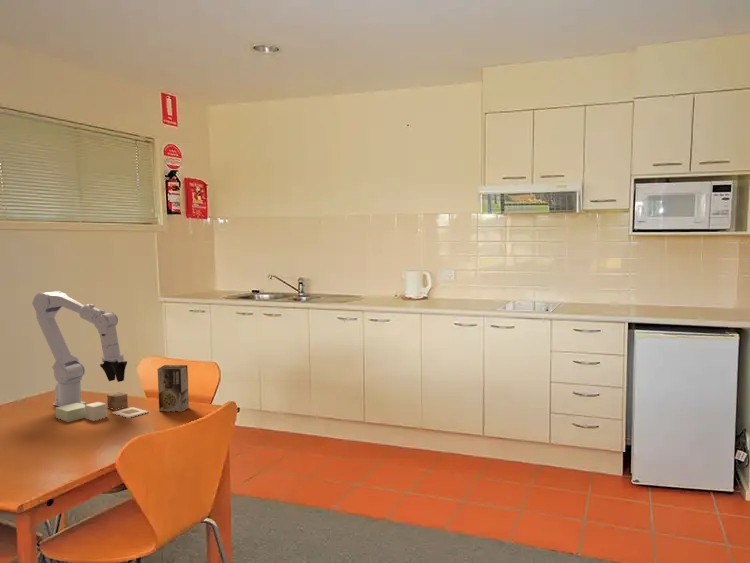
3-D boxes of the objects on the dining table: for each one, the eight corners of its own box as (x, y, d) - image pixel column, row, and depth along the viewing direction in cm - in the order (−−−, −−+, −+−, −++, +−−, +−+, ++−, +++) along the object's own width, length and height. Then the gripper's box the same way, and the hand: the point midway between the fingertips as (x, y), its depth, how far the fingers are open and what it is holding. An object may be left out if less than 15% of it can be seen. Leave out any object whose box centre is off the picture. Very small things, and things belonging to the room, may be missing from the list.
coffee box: (189, 407, 222) (188, 364, 221) (182, 412, 216) (181, 368, 214) (166, 406, 223) (164, 364, 222) (158, 411, 216) (156, 368, 215)
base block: (55, 418, 209) (55, 407, 209) (78, 413, 216) (77, 402, 215) (67, 422, 205) (67, 411, 204) (89, 417, 211) (89, 406, 211)
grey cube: (85, 418, 208) (85, 404, 208) (99, 415, 212) (98, 401, 212) (93, 421, 205) (93, 407, 205) (107, 417, 210) (106, 403, 209)
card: (112, 413, 214) (112, 411, 214) (132, 408, 220) (131, 406, 220) (128, 418, 208) (128, 416, 208) (148, 412, 215) (148, 411, 215)
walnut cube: (107, 408, 222) (107, 395, 221) (119, 405, 226) (119, 392, 225) (115, 410, 219) (114, 397, 218) (127, 407, 223) (127, 394, 222)
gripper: (129, 342, 218) (135, 378, 219) (112, 343, 228) (118, 377, 228) (110, 346, 213) (116, 383, 213) (93, 347, 223) (100, 382, 223)
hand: (116, 380), depth 221 cm, fingers open, 7 cm apart
